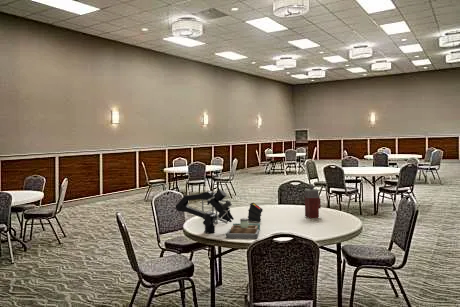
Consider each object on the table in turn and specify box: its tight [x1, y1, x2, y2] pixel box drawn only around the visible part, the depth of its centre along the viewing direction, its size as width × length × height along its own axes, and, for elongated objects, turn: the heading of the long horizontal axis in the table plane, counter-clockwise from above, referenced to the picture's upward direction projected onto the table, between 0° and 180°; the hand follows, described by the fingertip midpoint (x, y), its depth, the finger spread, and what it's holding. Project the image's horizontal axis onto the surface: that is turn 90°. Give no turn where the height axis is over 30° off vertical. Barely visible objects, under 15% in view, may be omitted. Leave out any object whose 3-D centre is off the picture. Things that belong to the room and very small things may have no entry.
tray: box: [230, 222, 261, 234], centre depth 288 cm, size 20×16×4 cm
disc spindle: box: [239, 217, 249, 228], centre depth 285 cm, size 6×6×9 cm
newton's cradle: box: [201, 197, 229, 225], centre depth 333 cm, size 30×10×18 cm, turn 26°
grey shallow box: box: [225, 228, 260, 240], centre depth 277 cm, size 21×14×3 cm, turn 80°
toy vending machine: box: [304, 183, 322, 219], centre depth 337 cm, size 9×11×28 cm
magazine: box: [247, 202, 264, 223], centre depth 325 cm, size 4×13×15 cm, turn 47°
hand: (232, 220), depth 287 cm, fingers open, 9 cm apart
